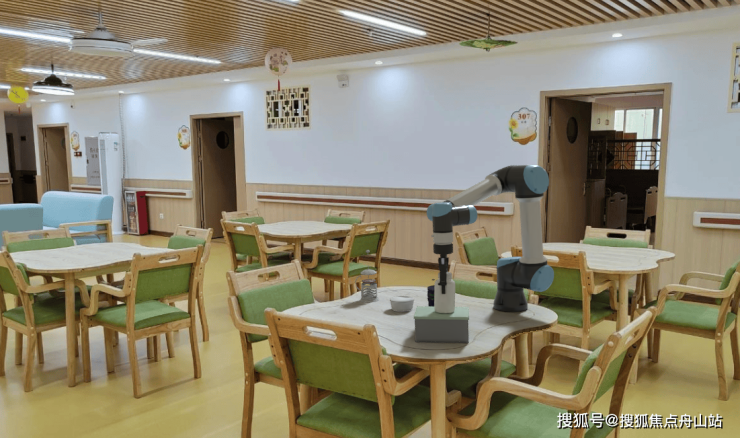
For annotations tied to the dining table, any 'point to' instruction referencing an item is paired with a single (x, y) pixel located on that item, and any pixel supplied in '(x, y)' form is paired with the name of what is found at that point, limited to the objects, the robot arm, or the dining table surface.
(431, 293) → the storage jar
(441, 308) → the pill bottle
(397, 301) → the ramekin
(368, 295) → the french press
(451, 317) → the box lid
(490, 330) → the dining table surface
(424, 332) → the storage box
